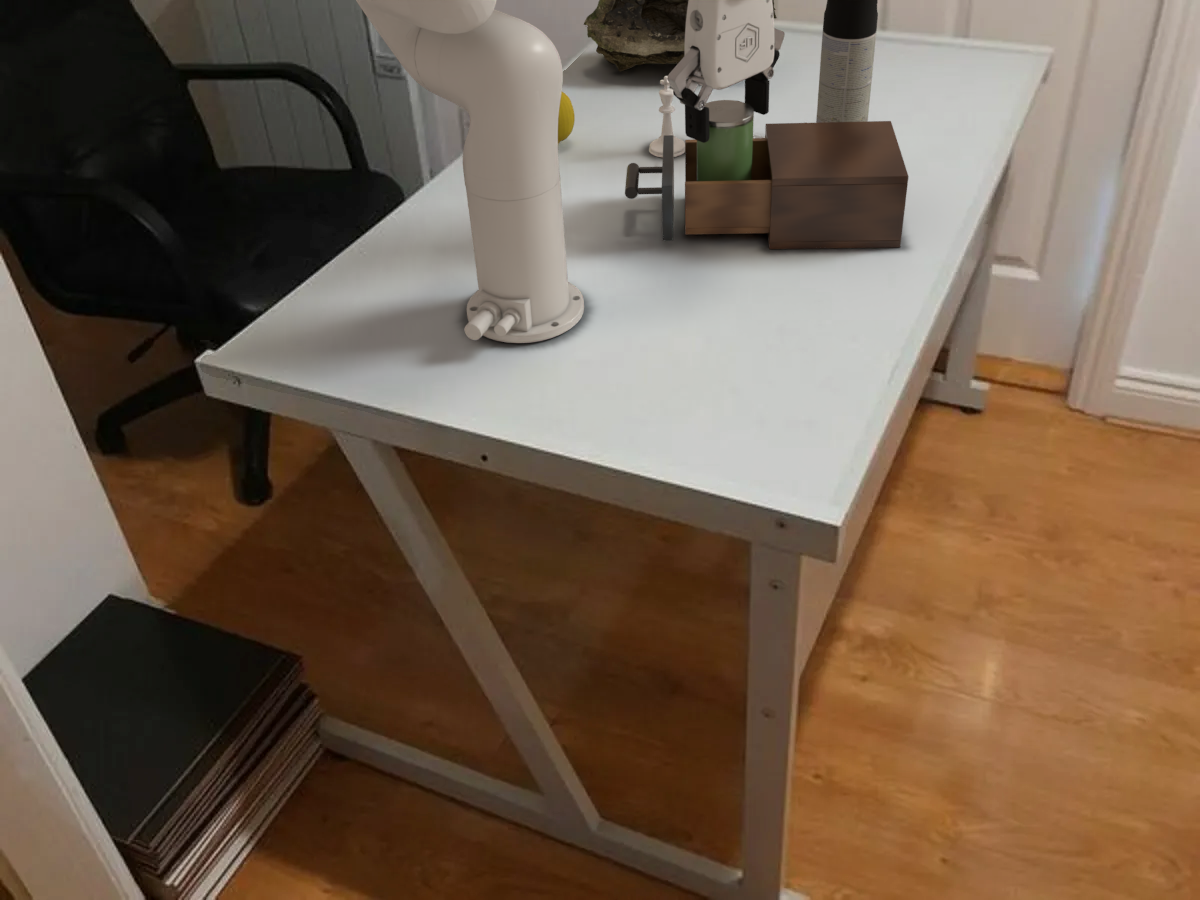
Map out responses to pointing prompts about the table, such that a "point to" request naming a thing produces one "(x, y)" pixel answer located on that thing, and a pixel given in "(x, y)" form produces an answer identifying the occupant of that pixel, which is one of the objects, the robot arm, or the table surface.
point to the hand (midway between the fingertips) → (727, 124)
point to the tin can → (727, 143)
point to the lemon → (565, 118)
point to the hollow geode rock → (640, 31)
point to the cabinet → (835, 185)
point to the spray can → (847, 60)
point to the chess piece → (666, 123)
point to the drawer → (710, 194)
